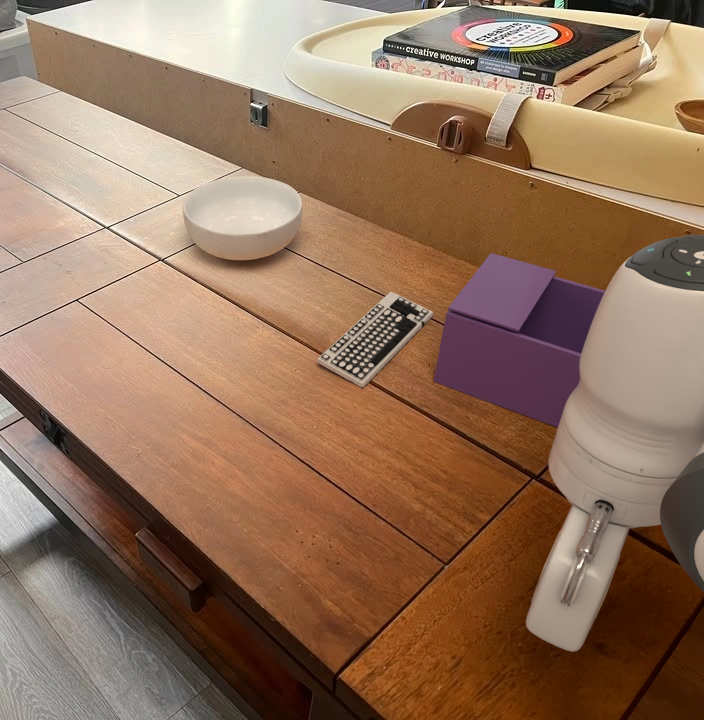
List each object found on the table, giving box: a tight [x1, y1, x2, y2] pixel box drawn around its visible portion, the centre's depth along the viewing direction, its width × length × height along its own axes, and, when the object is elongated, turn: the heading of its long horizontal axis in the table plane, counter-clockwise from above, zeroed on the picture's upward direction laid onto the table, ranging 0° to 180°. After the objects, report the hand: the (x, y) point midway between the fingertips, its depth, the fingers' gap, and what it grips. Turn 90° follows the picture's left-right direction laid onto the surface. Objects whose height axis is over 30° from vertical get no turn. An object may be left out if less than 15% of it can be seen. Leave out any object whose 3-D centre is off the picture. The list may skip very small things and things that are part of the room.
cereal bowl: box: [182, 175, 303, 261], centre depth 107 cm, size 17×17×7 cm
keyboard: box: [316, 291, 434, 389], centre depth 91 cm, size 17×6×2 cm, turn 142°
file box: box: [432, 252, 606, 429], centre depth 83 cm, size 15×13×10 cm
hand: (573, 583), depth 60 cm, fingers closed on block, 4 cm apart
